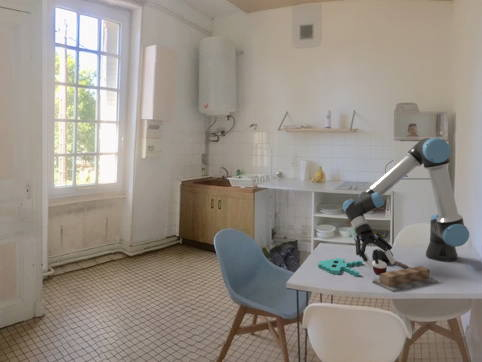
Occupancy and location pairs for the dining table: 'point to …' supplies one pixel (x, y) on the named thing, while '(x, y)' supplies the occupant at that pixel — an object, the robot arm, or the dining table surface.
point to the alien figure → (339, 266)
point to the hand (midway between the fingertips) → (382, 265)
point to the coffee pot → (386, 258)
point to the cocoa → (378, 265)
